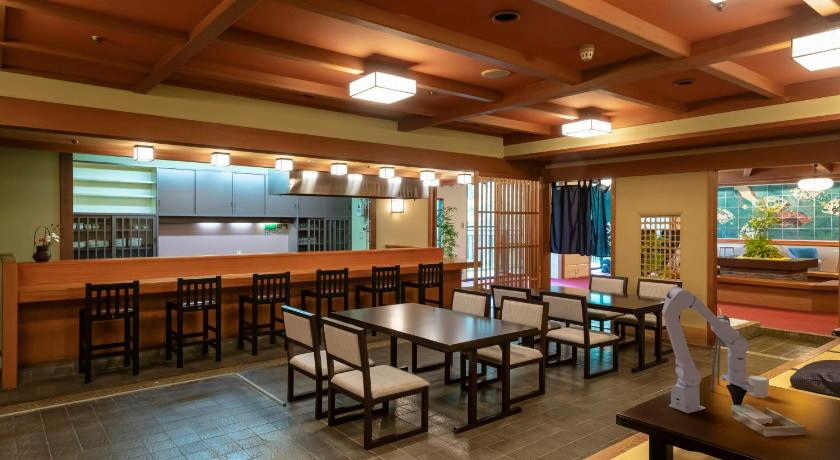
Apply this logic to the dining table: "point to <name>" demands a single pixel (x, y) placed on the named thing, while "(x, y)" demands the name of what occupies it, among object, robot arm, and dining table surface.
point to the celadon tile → (743, 408)
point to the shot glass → (759, 385)
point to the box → (787, 429)
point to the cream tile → (758, 417)
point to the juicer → (718, 355)
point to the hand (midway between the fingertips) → (737, 405)
